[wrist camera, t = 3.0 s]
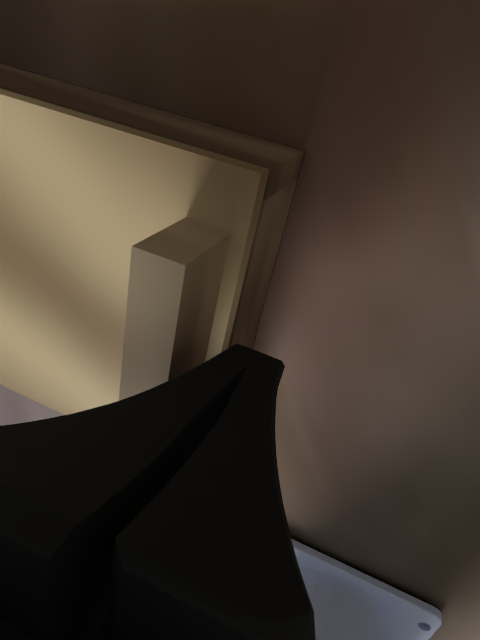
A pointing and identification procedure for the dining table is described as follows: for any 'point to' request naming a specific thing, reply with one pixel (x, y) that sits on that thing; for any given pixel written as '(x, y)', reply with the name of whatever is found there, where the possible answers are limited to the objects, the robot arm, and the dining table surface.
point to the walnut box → (203, 136)
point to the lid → (114, 254)
